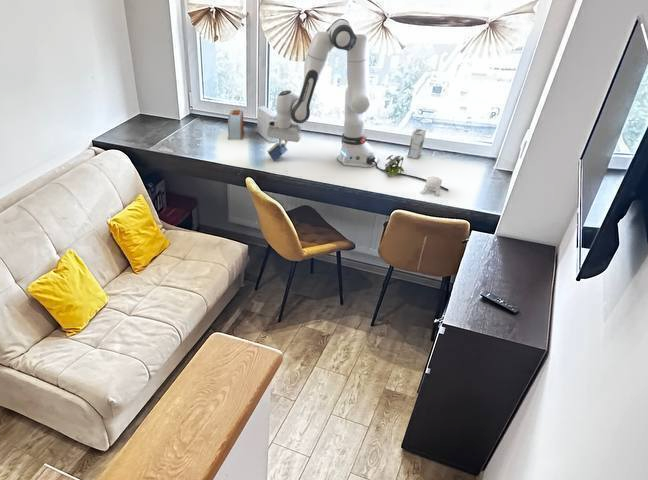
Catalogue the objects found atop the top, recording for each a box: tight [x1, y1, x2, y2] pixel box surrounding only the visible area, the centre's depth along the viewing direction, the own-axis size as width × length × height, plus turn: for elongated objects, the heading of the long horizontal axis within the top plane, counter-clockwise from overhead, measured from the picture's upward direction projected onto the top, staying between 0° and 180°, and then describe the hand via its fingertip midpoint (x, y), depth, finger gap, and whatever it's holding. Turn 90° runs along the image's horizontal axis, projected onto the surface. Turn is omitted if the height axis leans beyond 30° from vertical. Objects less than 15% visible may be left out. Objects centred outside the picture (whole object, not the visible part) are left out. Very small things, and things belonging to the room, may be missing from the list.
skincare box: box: [256, 105, 278, 143], centre depth 338 cm, size 21×6×16 cm, turn 22°
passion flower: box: [383, 154, 405, 177], centre depth 294 cm, size 11×11×12 cm
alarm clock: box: [227, 109, 245, 140], centre depth 344 cm, size 15×8×14 cm, turn 172°
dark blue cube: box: [266, 141, 288, 162], centre depth 314 cm, size 7×8×7 cm
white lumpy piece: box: [421, 176, 443, 196], centre depth 275 cm, size 9×8×15 cm
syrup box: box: [407, 128, 427, 160], centre depth 306 cm, size 6×6×14 cm
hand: (283, 147), depth 311 cm, fingers closed
